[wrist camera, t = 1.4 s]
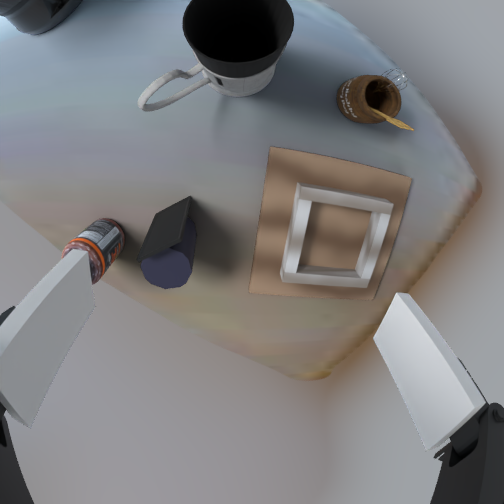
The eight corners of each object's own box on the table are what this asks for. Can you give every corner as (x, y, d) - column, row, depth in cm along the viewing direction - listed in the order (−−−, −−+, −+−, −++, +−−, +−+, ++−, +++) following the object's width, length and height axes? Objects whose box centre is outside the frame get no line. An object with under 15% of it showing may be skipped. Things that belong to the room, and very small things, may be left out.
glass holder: (290, 71, 27) (328, 34, 13) (195, 139, 30) (162, 150, 17) (245, 21, 24) (250, -41, 10) (152, 90, 27) (93, 70, 14)
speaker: (148, 201, 33) (124, 240, 24) (191, 195, 33) (180, 233, 25) (160, 251, 37) (144, 300, 28) (200, 247, 37) (194, 296, 29)
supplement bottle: (119, 261, 37) (86, 307, 27) (87, 243, 35) (47, 283, 25) (132, 228, 35) (96, 269, 25) (97, 209, 33) (53, 243, 23)
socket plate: (270, 146, 31) (273, 148, 28) (407, 176, 33) (421, 182, 30) (248, 288, 40) (249, 303, 36) (370, 295, 42) (378, 309, 38)
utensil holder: (376, 83, 27) (431, 73, 17) (376, 127, 30) (431, 134, 19) (334, 76, 27) (379, 57, 16) (334, 123, 30) (380, 124, 19)
